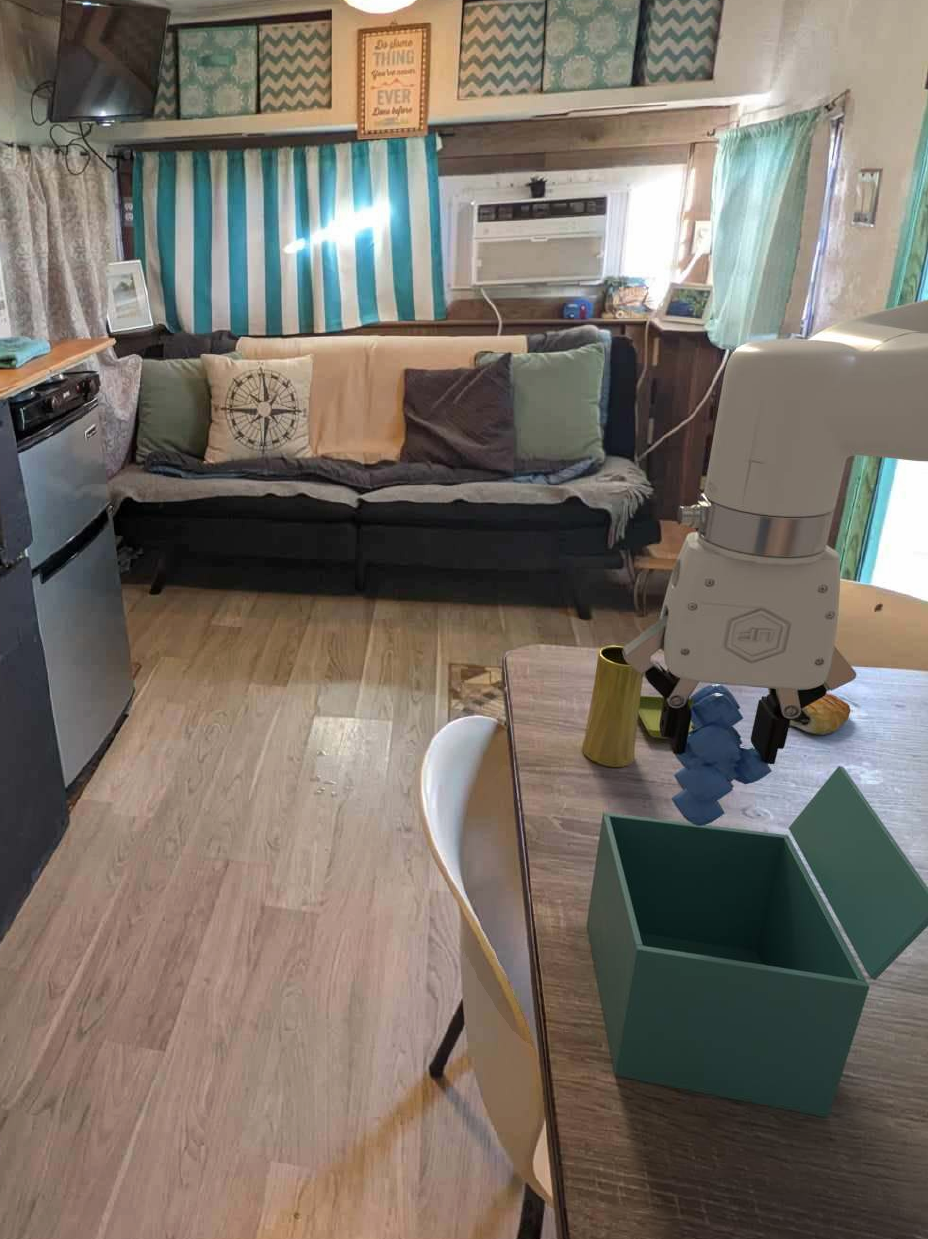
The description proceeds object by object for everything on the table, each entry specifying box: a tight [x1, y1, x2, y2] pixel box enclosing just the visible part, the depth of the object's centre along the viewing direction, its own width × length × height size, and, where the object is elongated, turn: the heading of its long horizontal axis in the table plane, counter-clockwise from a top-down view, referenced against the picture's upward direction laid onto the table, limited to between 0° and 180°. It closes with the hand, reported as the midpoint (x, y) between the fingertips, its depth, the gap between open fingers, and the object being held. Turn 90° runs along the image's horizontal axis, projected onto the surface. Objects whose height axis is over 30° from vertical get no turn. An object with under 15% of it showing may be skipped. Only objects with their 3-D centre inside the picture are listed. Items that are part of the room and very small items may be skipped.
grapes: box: [671, 683, 773, 826], centre depth 64 cm, size 12×7×12 cm, turn 151°
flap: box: [788, 765, 928, 981], centre depth 64 cm, size 7×16×1 cm
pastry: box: [789, 692, 851, 736], centre depth 111 cm, size 9×7×4 cm
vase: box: [581, 645, 644, 768], centre depth 105 cm, size 6×6×14 cm
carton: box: [586, 812, 870, 1119], centre depth 70 cm, size 15×16×14 cm
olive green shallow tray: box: [638, 694, 694, 740], centre depth 112 cm, size 9×9×2 cm
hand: (717, 746), depth 64 cm, fingers closed on grapes, 5 cm apart
